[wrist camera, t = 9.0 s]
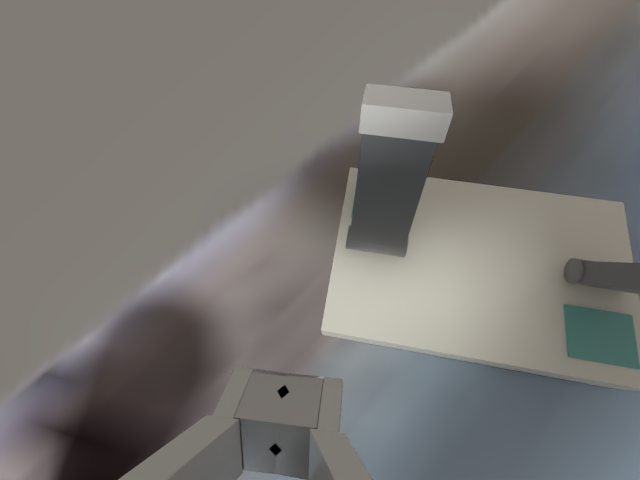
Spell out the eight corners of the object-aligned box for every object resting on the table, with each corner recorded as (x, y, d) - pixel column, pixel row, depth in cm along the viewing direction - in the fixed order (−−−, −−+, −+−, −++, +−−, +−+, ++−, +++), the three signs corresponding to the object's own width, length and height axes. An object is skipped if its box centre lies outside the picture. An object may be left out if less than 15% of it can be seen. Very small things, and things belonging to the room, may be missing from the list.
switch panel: (618, 389, 25) (657, 391, 22) (322, 334, 27) (320, 329, 24) (596, 218, 30) (625, 201, 27) (348, 185, 32) (350, 165, 29)
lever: (402, 265, 25) (453, 113, 16) (344, 256, 26) (361, 104, 17) (403, 241, 27) (449, 91, 18) (348, 233, 27) (366, 83, 18)
